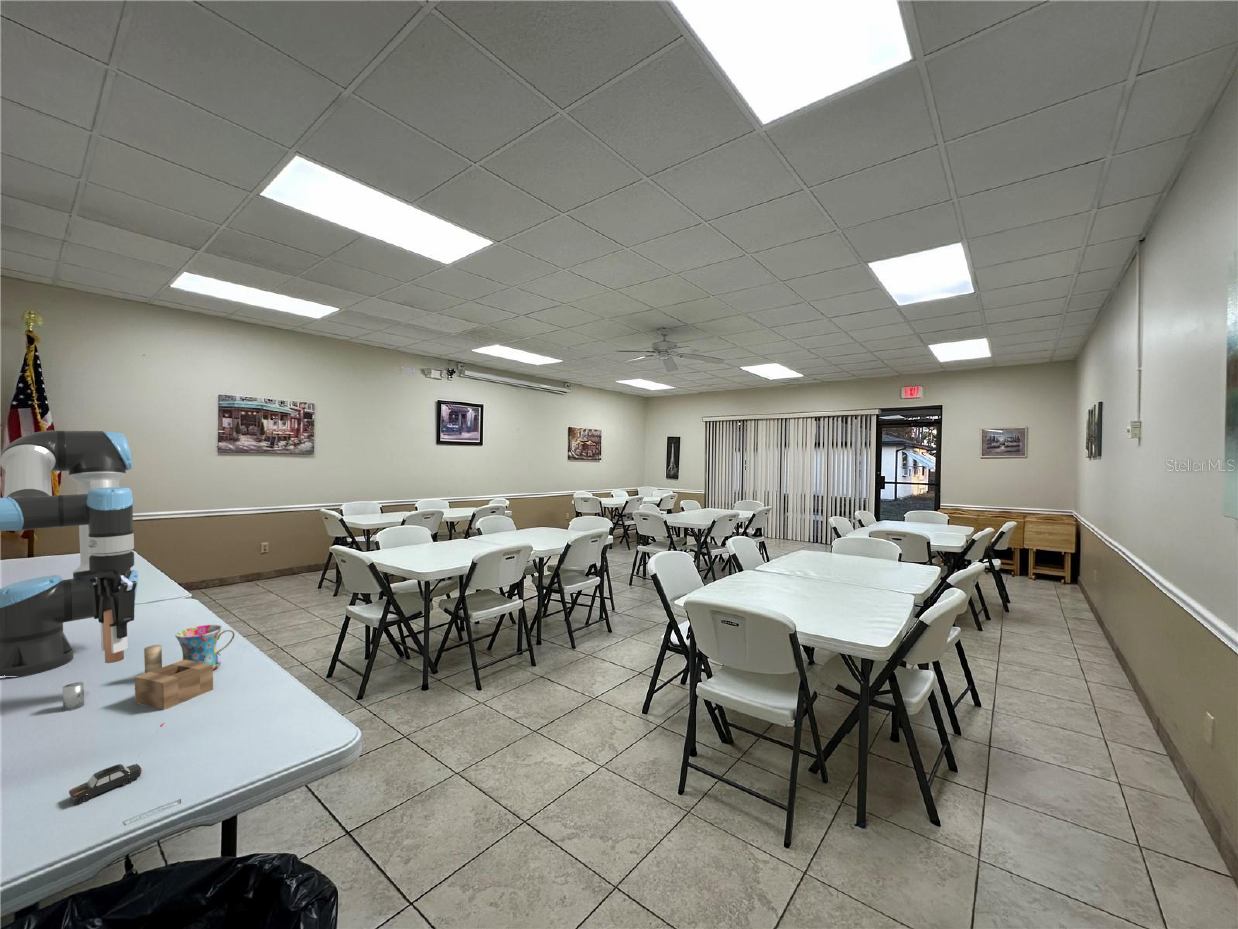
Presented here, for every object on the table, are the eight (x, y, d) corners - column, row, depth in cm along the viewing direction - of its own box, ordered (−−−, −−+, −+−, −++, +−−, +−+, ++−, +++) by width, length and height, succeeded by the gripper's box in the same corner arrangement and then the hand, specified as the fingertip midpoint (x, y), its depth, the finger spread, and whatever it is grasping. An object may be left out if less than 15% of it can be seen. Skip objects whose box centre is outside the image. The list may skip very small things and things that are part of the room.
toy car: (67, 800, 82) (65, 753, 82) (162, 762, 92) (161, 719, 92) (73, 809, 80) (71, 761, 80) (170, 769, 90) (168, 726, 90)
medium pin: (142, 680, 125) (141, 648, 125) (157, 675, 128) (156, 644, 128) (150, 682, 124) (149, 650, 124) (165, 676, 127) (164, 645, 127)
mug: (177, 682, 124) (176, 640, 124) (175, 670, 131) (174, 630, 130) (237, 667, 132) (236, 628, 132) (233, 657, 139) (232, 619, 139)
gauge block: (135, 703, 114) (134, 677, 114) (185, 683, 123) (184, 659, 123) (164, 709, 110) (163, 683, 110) (213, 689, 120) (212, 664, 120)
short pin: (59, 709, 111) (59, 687, 111) (78, 702, 114) (78, 681, 114) (68, 712, 110) (67, 689, 110) (87, 705, 113) (87, 683, 113)
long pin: (101, 662, 118) (100, 612, 118) (119, 656, 121) (117, 608, 121) (110, 664, 117) (108, 613, 117) (127, 658, 120) (125, 609, 120)
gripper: (69, 553, 117) (73, 650, 118) (113, 558, 112) (116, 661, 113) (110, 546, 124) (113, 639, 125) (153, 552, 119) (155, 648, 120)
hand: (114, 649), depth 119 cm, fingers closed on long pin, 3 cm apart
